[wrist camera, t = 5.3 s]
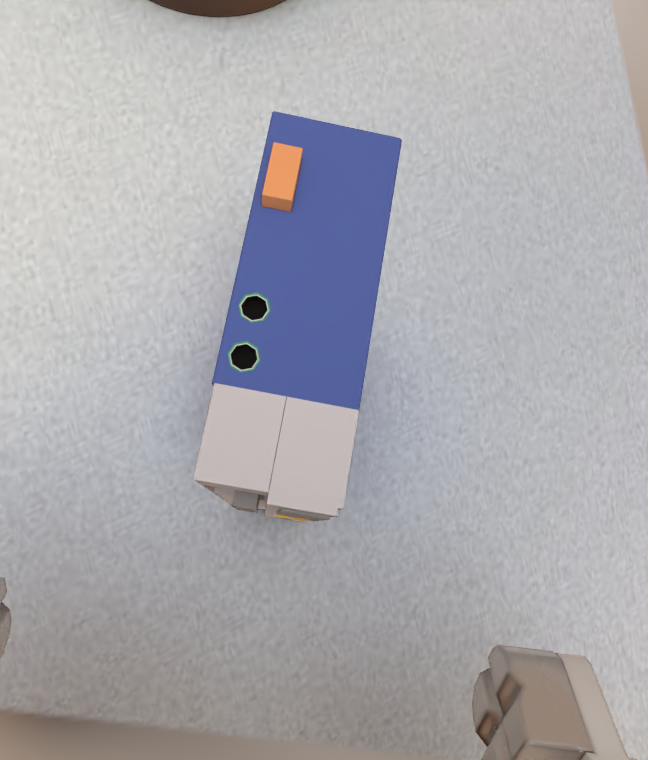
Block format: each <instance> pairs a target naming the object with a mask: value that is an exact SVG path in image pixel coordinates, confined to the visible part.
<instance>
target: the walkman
mask: <svg viewBox="0 0 648 760" xmlns="http://www.w3.org/2000/svg"><path fill="white" fill-rule="evenodd" d="M401 142H402V140H401V139H400V138H396V137H391V136H387V135H382V134H377V133H373V132H368V131H363V130H359V129H354V128H349V127H345V126H340V125H335V124H331V123H326V122H321V121H317V120H312V119H307V118H303V117H298V116H293V115H289V114H284V113H279V112H272V117H271V121H270V126H269V130H268V135H267V139H266V144H265V148H264V153H263V157H262V162H261V166H260V171H259V175H258V180H257V184H256V189H255V193H254V198H253V202H252V206H251V211H250V215H249V220H248V224H247V229H246V233H245V238H244V242H243V247H242V251H241V256H240V260H239V265H238V269H237V274H236V278H235V283H234V287H233V292H232V296H231V301H230V305H229V310H228V314H227V318H226V323H225V327H224V332H223V336H222V341H221V345H220V350H219V354H218V359H217V363H216V368H215V372H214V377H213V381H212V384H213V391H212V395H211V400H210V404H209V409H208V413H207V418H206V422H205V427H204V431H203V436H202V440H201V445H200V449H199V454H198V458H197V463H196V467H195V472H194V476H193V479H194V480H195V481H197V482H198V483H200V484H201V485H203V486H204V487H206V488H207V489H209V490H210V491H212V492H213V493H215V494H216V495H217V496H219V497H220V498H222V499H223V500H225V501H226V502H228V503H229V504H232V506H233V507H235V508H236V509H238V510H244V511H249V512H255V513H257V510H258V508H259V509H264V510H265V514H264V515H265V516H271V517H277V518H282V519H288V520H294V521H299V522H304V521H319V520H324V519H325V520H329V519H330V517H337V512H338V510H340V509H344V503H345V497H346V490H347V484H348V478H349V472H350V465H351V459H352V453H353V446H354V440H355V434H356V427H357V421H358V415H359V407H360V401H361V395H362V388H363V382H364V376H365V369H366V363H367V357H368V350H369V344H370V338H371V331H372V325H373V319H374V313H375V306H376V300H377V294H378V287H379V281H380V275H381V268H382V262H383V256H384V249H385V243H386V237H387V231H388V224H389V218H390V212H391V205H392V199H393V193H394V186H395V180H396V174H397V167H398V161H399V155H400V148H401ZM273 465H274V467H273ZM272 470H273V472H272ZM271 476H272V477H271ZM270 481H271V483H270ZM269 486H270V488H269ZM268 492H269V493H268ZM267 497H268V498H267ZM266 502H267V504H266ZM265 507H266V509H265Z"/></svg>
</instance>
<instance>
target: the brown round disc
mask: <svg viewBox="0 0 648 760" xmlns="http://www.w3.org/2000/svg"><path fill="white" fill-rule="evenodd" d="M151 1H153V2H156V3H158V4H160V5H162V6H165V7H168V8H171V9H174V10H177V11H181V12H186V13H190V14H195V15H204V16H234V15H243V14H248V13H252V12H257V11H260V10H263V9H266V8H269V7H272V6H274V5H276V4H278V3H280V2H282V1H284V0H151Z"/></svg>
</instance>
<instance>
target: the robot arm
mask: <svg viewBox="0 0 648 760" xmlns="http://www.w3.org/2000/svg"><path fill="white" fill-rule="evenodd" d="M6 593H7V587H6V582H5V578H2V577H0V659H1V657H2V655H3V653H4V650H5V647H6V644H7V641H8V638H9V635H10V628H11V614H10V609H9V608H7V607H6V606H5V605H4V604H3V603H2V600H3V599H4V597H5V595H6ZM488 659H489V664H490V668H489V669H487V670H485V671H483V672H481V673H480V674H479V676H478V679H477V681H476V683H475V686H474V693H473V700H472V706H473V719H474V724H475V730H476V733H477V734H478V735H479V736H480V738H481V739H482V740H483V742H484V743H485V744H486V746H487V749H486V751H485V753H484V755H483V757H482V759H481V760H637V759H634V758H628V757H627V754H626V751H625V749H624V746H623V744H622V741H621V739H620V736H619V734H618V731H617V729H616V726H615V723H614V721H613V718H612V716H611V713H610V711H609V708H608V706H607V703H606V701H605V698H604V695H603V693H602V690H601V688H600V685H599V683H598V680H597V678H596V675H595V673H594V670H593V667H592V665H591V663H590V662H589V661H588V659H587V658H586V657H583V656H578V655H569V654H561V653H554V652H552V651H545V650H537V649H528V648H520V647H512V646H504V645H497V646H496V647H494V648H493V649H492V651H491V653H490V655H489V656H488Z"/></svg>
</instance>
